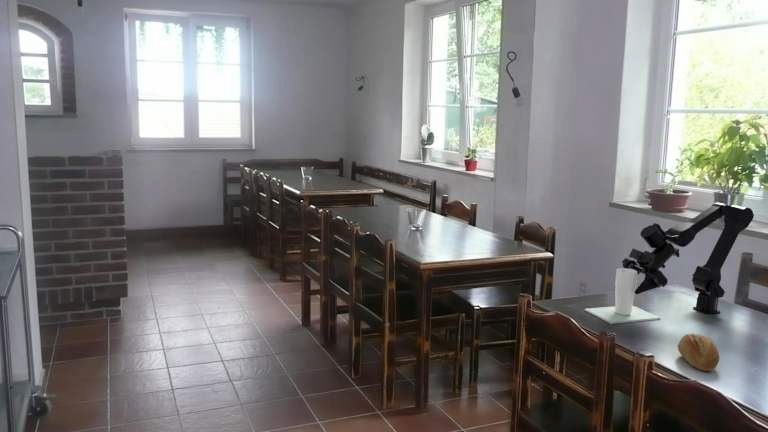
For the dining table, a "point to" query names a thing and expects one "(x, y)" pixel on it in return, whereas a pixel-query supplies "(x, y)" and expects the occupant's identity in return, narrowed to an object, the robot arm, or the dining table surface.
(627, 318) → the pad
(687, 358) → the bread roll
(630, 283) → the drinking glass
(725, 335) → the dining table surface
